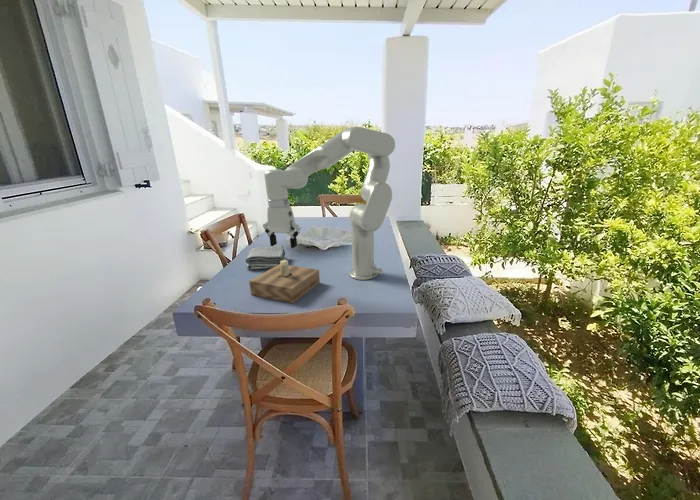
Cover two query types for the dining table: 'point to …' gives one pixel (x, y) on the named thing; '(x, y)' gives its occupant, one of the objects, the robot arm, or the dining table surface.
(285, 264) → the peg
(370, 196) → the robot arm
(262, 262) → the towel
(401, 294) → the dining table surface
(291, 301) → the bore block
